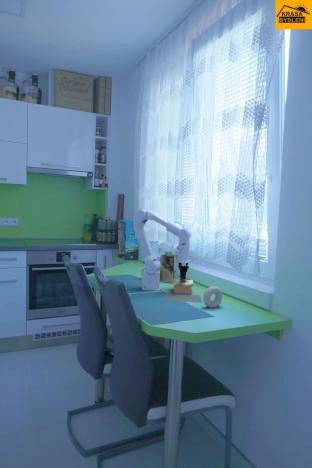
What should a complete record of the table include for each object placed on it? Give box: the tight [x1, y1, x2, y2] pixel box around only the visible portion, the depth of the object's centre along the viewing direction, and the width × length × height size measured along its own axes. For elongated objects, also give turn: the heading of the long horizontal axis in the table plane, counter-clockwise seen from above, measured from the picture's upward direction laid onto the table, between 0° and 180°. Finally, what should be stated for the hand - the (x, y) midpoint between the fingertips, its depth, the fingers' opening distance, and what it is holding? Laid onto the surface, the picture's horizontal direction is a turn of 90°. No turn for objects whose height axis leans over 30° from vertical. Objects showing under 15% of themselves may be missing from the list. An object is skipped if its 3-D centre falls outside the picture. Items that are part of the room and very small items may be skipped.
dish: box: [173, 285, 193, 295], centre depth 179 cm, size 9×9×5 cm
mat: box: [163, 293, 203, 303], centre depth 166 cm, size 18×13×1 cm
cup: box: [140, 266, 147, 277], centre depth 210 cm, size 7×10×9 cm
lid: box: [171, 275, 194, 287], centre depth 178 cm, size 11×11×5 cm
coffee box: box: [159, 254, 178, 284], centre depth 205 cm, size 9×6×16 cm
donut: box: [202, 285, 224, 309], centre depth 152 cm, size 10×3×10 cm, turn 117°
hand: (182, 277), depth 178 cm, fingers open, 7 cm apart
